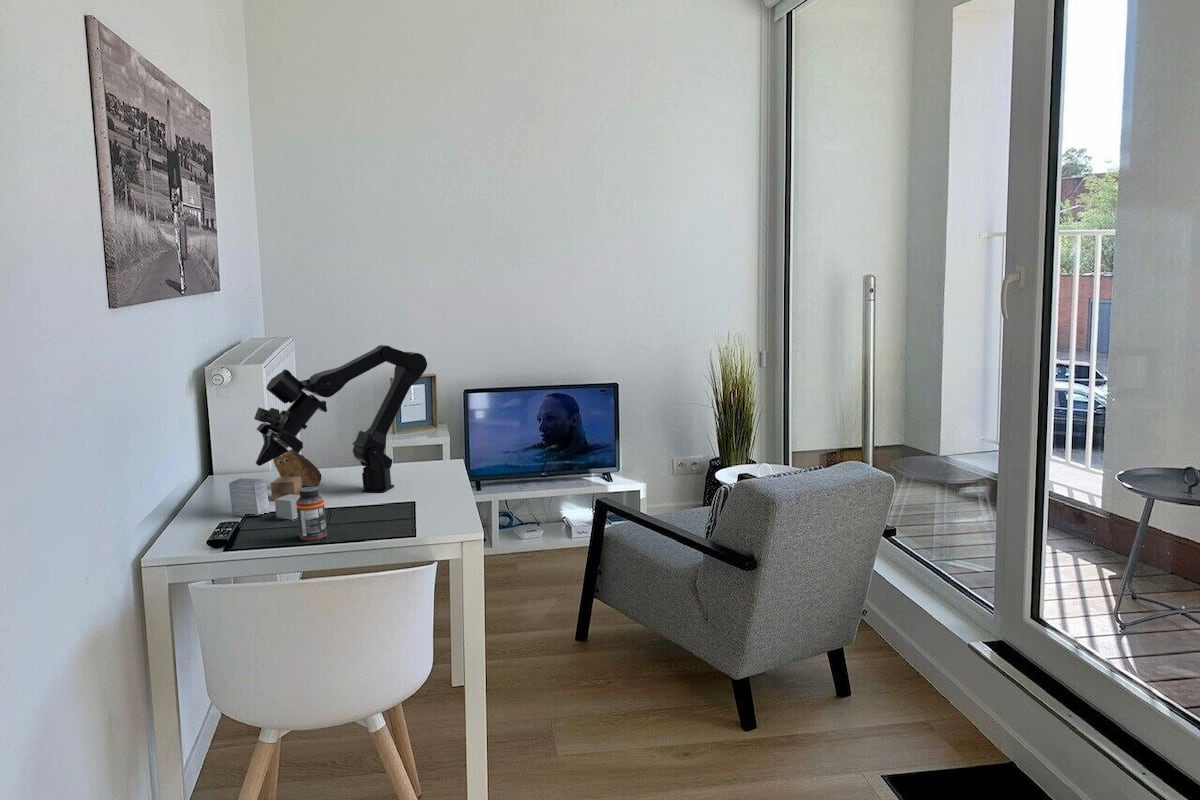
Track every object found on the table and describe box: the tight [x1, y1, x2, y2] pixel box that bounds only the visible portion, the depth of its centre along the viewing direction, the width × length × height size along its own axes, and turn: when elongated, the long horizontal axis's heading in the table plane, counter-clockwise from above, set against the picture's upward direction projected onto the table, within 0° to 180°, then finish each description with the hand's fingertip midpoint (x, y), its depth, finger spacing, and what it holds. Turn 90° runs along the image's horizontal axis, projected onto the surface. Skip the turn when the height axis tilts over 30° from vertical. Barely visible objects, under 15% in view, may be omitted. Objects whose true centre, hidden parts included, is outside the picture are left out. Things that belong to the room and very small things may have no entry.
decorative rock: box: [272, 448, 322, 487], centre depth 269 cm, size 12×6×11 cm, turn 95°
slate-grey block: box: [274, 494, 300, 521], centre depth 237 cm, size 5×5×5 cm
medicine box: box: [228, 477, 271, 517], centre depth 241 cm, size 8×4×9 cm, turn 71°
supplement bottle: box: [296, 486, 328, 542], centre depth 219 cm, size 6×6×11 cm
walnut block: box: [270, 476, 303, 502], centre depth 257 cm, size 6×6×5 cm
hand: (257, 464), depth 242 cm, fingers closed
